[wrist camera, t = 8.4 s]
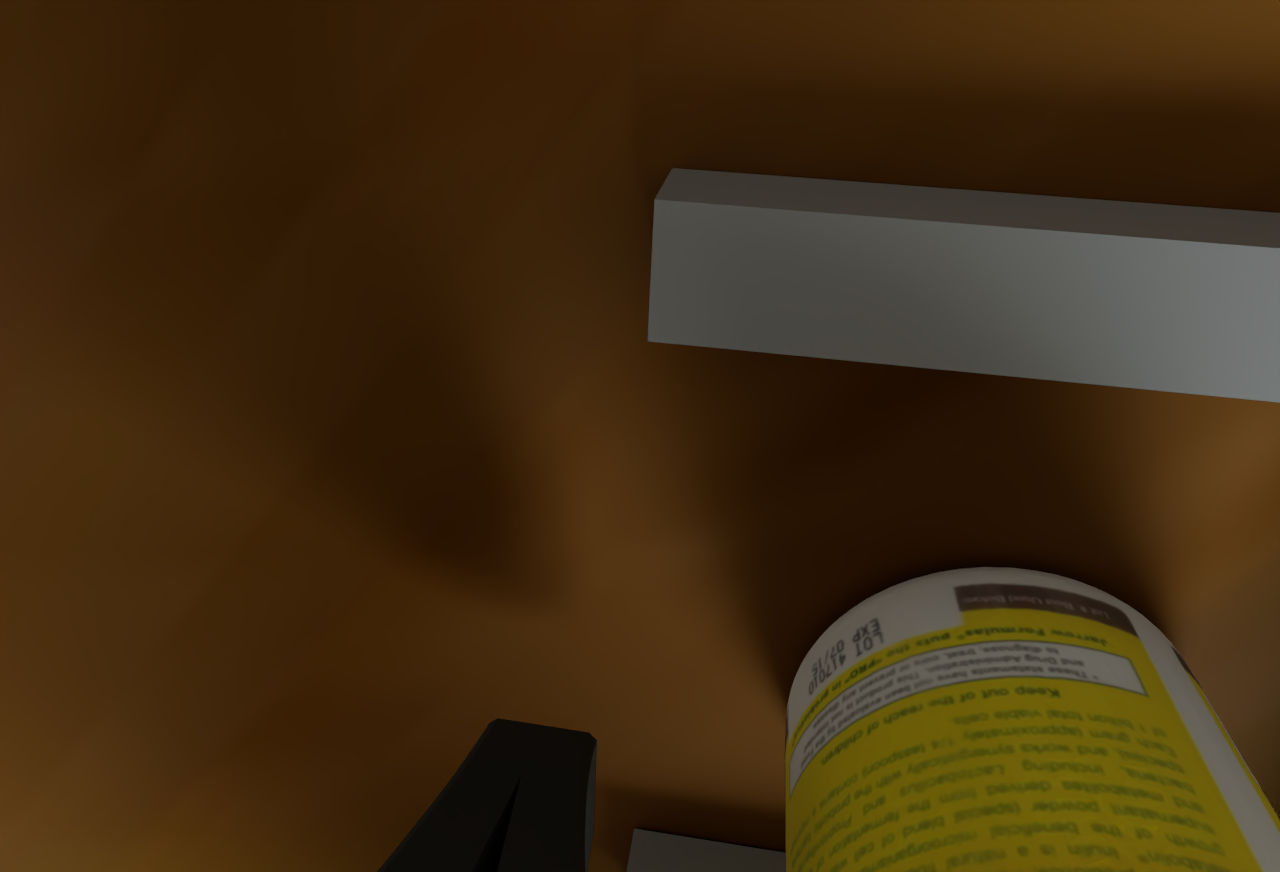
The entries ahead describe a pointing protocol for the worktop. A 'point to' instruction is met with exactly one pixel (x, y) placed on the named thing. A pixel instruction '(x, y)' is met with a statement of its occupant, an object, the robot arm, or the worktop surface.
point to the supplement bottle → (1011, 739)
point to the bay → (959, 305)
